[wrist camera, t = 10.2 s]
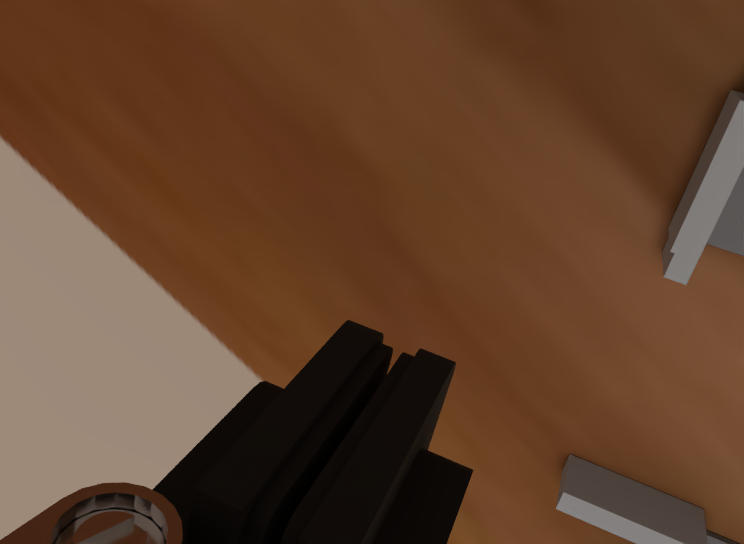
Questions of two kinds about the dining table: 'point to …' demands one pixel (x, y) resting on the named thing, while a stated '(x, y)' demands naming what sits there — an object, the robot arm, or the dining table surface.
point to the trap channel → (680, 255)
